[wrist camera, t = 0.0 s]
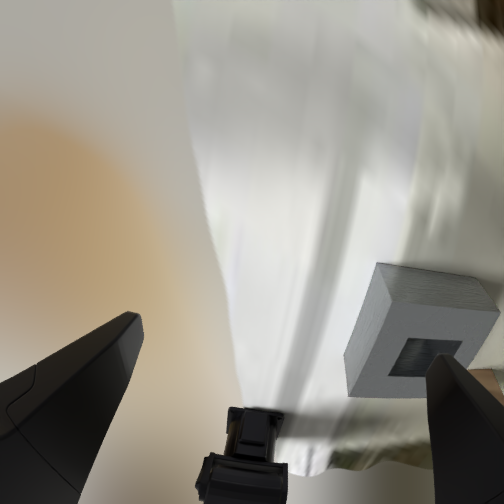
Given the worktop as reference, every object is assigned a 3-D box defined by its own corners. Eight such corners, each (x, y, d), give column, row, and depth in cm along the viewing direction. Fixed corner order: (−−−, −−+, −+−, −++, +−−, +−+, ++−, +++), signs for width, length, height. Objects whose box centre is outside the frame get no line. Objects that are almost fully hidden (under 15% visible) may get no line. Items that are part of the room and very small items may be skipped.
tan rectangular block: (479, 385, 29) (495, 429, 22) (455, 386, 29) (471, 433, 23) (491, 368, 27) (510, 413, 21) (468, 369, 27) (487, 417, 21)
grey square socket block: (432, 360, 27) (445, 397, 23) (343, 354, 28) (348, 396, 23) (475, 277, 22) (500, 312, 18) (376, 262, 23) (392, 301, 19)
